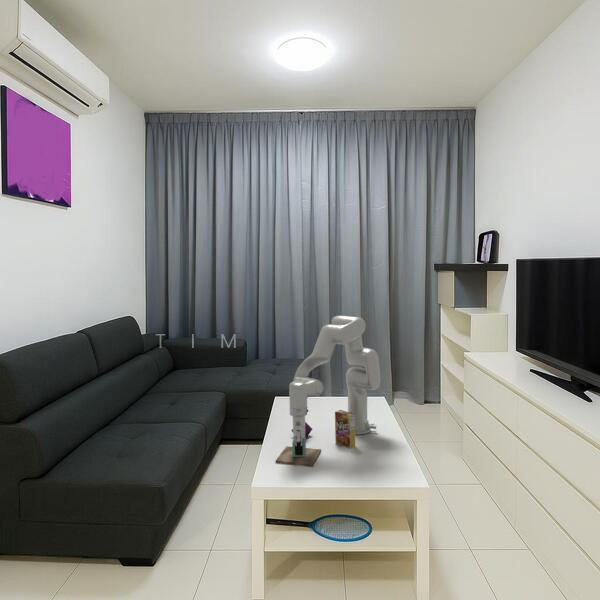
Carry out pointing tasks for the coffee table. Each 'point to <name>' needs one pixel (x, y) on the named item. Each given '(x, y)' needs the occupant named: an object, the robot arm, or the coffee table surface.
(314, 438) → the coffee table surface
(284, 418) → the coffee table surface
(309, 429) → the perfume bottle
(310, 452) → the plate
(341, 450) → the coffee table surface
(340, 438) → the candy box
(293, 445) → the teal cube
